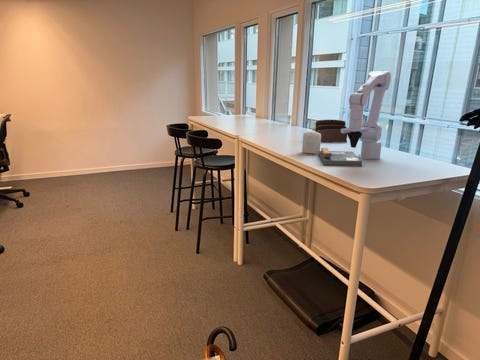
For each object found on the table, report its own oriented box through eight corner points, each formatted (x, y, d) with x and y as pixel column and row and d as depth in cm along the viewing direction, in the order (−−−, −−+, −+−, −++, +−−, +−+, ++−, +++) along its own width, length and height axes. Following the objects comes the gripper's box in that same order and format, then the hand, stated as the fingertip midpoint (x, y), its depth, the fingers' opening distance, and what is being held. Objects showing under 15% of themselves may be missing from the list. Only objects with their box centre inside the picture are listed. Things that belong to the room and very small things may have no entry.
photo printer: (321, 153, 189) (322, 131, 186) (318, 154, 186) (319, 132, 182) (303, 151, 195) (305, 130, 191) (300, 152, 191) (302, 131, 188)
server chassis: (352, 156, 183) (352, 151, 182) (361, 166, 162) (362, 160, 161) (318, 155, 185) (318, 150, 184) (323, 165, 164) (324, 160, 163)
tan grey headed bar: (320, 151, 181) (320, 147, 181) (327, 151, 181) (327, 147, 180) (324, 157, 167) (324, 153, 167) (331, 157, 167) (331, 153, 166)
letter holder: (314, 139, 232) (315, 119, 228) (343, 140, 230) (345, 119, 226) (316, 142, 223) (317, 121, 219) (346, 143, 221) (348, 121, 217)
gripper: (363, 117, 165) (360, 144, 169) (337, 118, 161) (335, 146, 165) (373, 119, 159) (369, 147, 163) (346, 120, 155) (344, 149, 159)
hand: (353, 147), depth 163 cm, fingers closed
